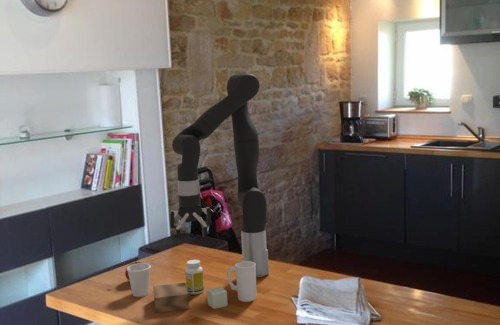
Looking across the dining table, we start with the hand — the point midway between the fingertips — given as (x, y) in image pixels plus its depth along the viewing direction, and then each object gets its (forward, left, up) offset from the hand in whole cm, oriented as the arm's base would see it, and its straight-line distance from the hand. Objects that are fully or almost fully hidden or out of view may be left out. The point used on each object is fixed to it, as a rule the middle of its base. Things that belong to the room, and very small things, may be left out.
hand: (191, 238), depth 197 cm
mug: (-15, +11, -20) cm, 27 cm away
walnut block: (+9, +9, -20) cm, 23 cm away
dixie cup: (+19, -4, -20) cm, 28 cm away
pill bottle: (0, 0, -20) cm, 20 cm away
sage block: (-6, +14, -20) cm, 25 cm away
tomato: (+20, -17, -20) cm, 33 cm away
